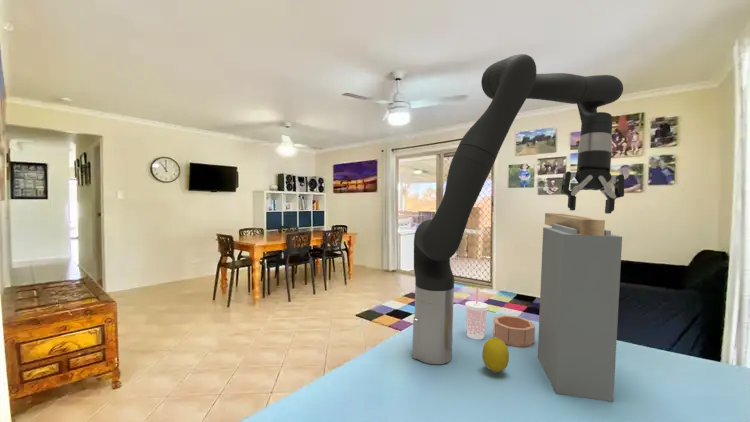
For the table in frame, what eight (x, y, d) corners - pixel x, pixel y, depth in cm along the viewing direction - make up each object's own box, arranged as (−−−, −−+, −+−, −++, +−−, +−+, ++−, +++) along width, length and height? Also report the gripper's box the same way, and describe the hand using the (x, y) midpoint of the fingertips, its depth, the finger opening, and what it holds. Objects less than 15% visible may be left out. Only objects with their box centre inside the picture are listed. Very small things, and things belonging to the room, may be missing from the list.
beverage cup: (480, 330, 95) (482, 283, 95) (491, 340, 89) (492, 289, 89) (460, 331, 94) (462, 283, 94) (469, 341, 88) (471, 290, 88)
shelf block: (556, 393, 65) (563, 229, 64) (537, 357, 80) (543, 223, 78) (613, 401, 63) (622, 231, 61) (583, 363, 77) (590, 224, 76)
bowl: (496, 344, 87) (496, 327, 87) (491, 329, 96) (492, 314, 96) (537, 349, 84) (537, 331, 84) (528, 333, 94) (529, 317, 94)
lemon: (510, 380, 69) (512, 344, 69) (483, 377, 71) (484, 341, 70) (505, 367, 75) (507, 333, 74) (480, 364, 76) (481, 331, 76)
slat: (580, 234, 63) (581, 219, 63) (544, 224, 88) (545, 213, 88) (604, 235, 62) (604, 220, 62) (560, 224, 87) (561, 213, 87)
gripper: (570, 147, 87) (565, 208, 86) (632, 150, 83) (627, 213, 82) (561, 154, 94) (556, 210, 93) (617, 157, 90) (613, 215, 89)
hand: (590, 211), depth 88 cm, fingers open, 8 cm apart
